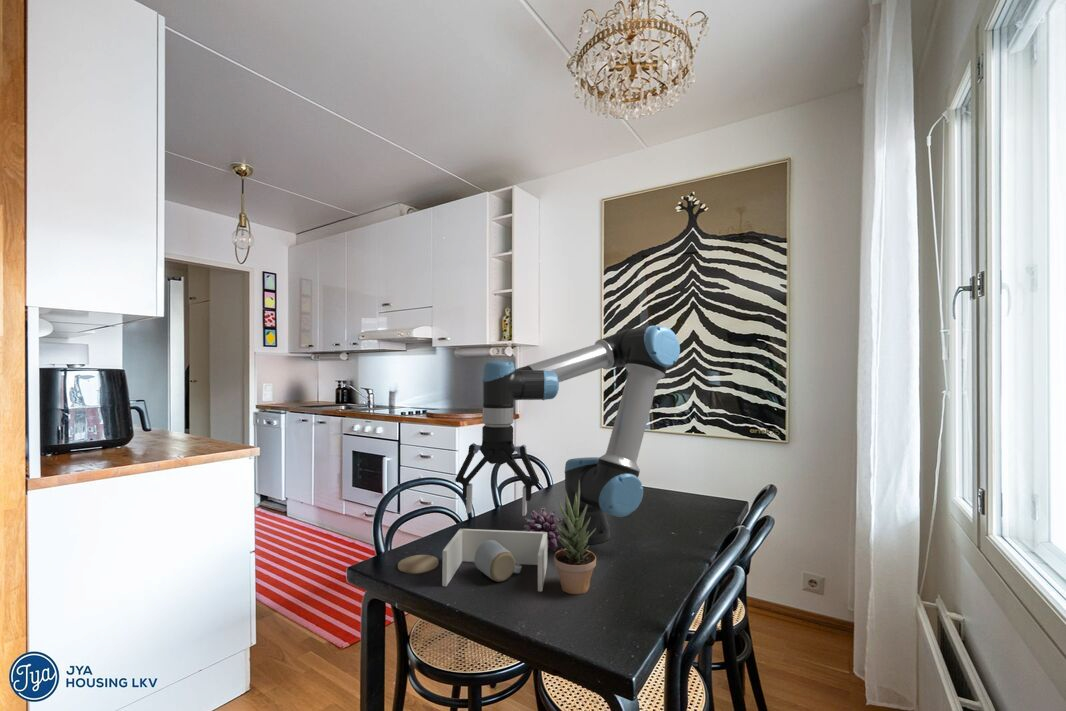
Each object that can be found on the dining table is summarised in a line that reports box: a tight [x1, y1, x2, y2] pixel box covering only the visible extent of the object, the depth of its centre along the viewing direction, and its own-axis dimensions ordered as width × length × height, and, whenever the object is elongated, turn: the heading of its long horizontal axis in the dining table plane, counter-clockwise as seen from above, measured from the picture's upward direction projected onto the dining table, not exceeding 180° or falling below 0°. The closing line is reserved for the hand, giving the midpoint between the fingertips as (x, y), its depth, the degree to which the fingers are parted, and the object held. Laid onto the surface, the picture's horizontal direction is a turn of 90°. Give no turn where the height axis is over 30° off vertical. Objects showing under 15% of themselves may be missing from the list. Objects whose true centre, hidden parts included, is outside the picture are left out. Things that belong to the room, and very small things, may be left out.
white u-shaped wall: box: [441, 528, 548, 592], centre depth 113 cm, size 23×15×8 cm, turn 84°
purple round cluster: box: [521, 507, 563, 552], centre depth 127 cm, size 12×12×12 cm
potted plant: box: [553, 480, 597, 595], centre depth 106 cm, size 10×10×25 cm
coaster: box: [397, 554, 439, 575], centre depth 118 cm, size 10×10×1 cm
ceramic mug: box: [474, 540, 522, 583], centre depth 113 cm, size 11×8×8 cm
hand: (496, 513), depth 113 cm, fingers open, 13 cm apart
